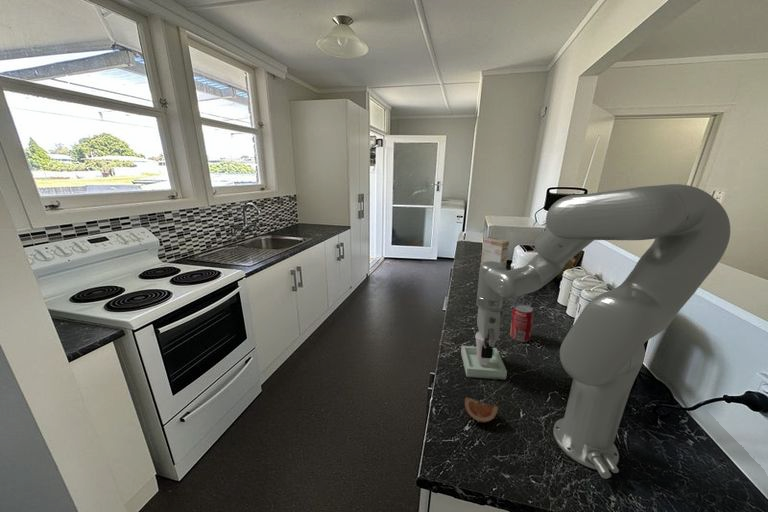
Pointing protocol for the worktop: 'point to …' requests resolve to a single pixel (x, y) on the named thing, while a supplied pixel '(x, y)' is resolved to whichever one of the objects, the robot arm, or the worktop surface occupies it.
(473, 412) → the fruit slice
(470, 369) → the tray
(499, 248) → the coffeecake box
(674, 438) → the worktop surface
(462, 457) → the worktop surface
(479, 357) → the smoothie
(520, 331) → the soda can
